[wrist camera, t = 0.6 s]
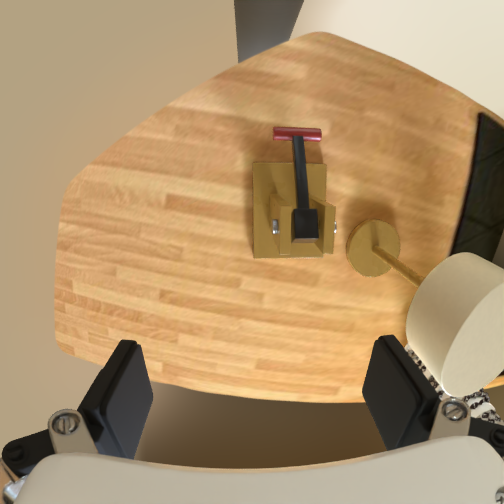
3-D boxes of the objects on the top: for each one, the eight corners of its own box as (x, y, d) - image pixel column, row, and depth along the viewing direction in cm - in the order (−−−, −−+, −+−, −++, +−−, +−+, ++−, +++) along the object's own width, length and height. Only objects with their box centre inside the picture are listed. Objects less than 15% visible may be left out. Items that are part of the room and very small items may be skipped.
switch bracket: (252, 162, 35) (256, 161, 24) (324, 164, 35) (358, 164, 24) (253, 256, 39) (256, 294, 27) (321, 255, 39) (349, 291, 27)
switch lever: (272, 133, 30) (273, 121, 28) (317, 135, 30) (321, 123, 28) (276, 243, 28) (279, 238, 26) (327, 243, 28) (333, 238, 26)
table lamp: (341, 210, 37) (468, 283, 13) (405, 212, 37) (544, 273, 13) (336, 282, 40) (423, 410, 16) (397, 279, 40) (505, 379, 16)
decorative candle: (387, 371, 45) (447, 478, 21) (412, 328, 43) (495, 429, 19) (421, 375, 46) (482, 465, 22) (445, 335, 44) (523, 420, 20)
